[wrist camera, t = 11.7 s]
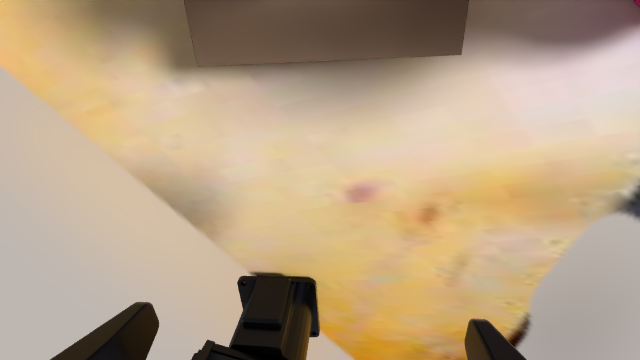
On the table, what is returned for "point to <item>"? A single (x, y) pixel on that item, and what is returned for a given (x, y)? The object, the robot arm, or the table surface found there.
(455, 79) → the table surface
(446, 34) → the socket block
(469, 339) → the robot arm
